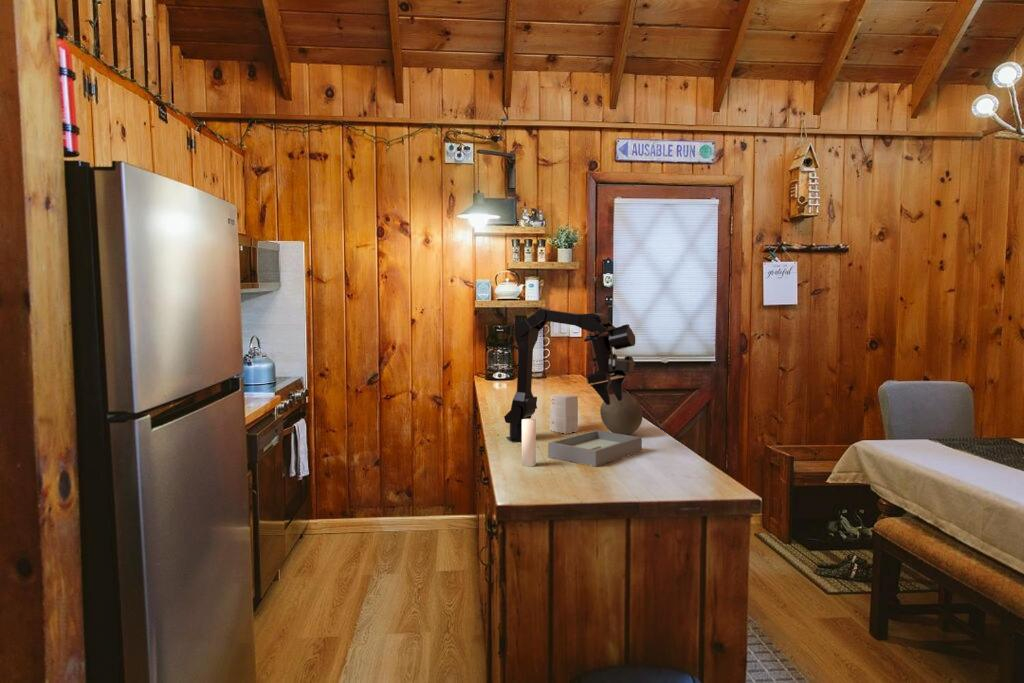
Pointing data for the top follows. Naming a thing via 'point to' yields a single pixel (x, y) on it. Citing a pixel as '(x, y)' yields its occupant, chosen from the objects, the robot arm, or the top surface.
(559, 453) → the tray
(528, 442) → the peg
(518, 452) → the top surface
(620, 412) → the brown ball
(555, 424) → the small box
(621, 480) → the top surface
